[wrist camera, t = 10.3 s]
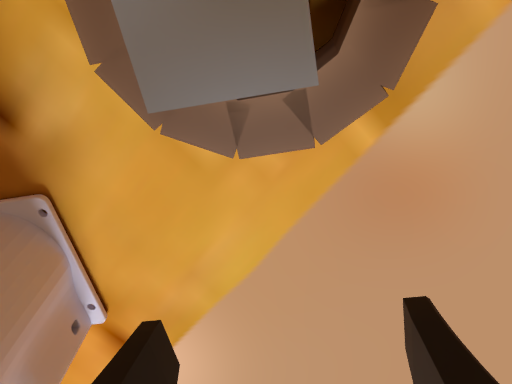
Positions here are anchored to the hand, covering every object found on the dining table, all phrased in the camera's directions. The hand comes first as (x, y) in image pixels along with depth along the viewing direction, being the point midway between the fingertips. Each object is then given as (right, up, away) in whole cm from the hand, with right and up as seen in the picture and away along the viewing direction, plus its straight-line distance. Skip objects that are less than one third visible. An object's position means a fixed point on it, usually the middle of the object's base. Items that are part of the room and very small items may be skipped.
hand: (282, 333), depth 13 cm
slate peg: (-1, +13, +5) cm, 14 cm away
